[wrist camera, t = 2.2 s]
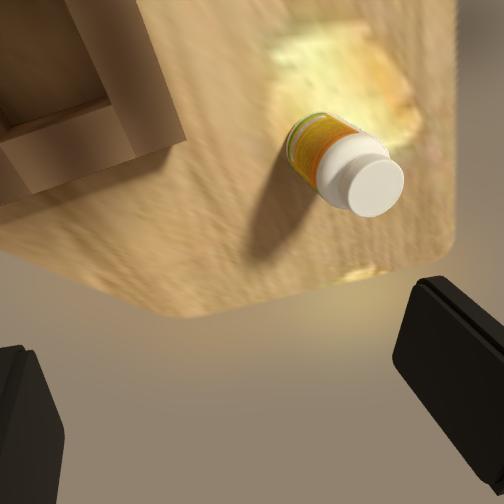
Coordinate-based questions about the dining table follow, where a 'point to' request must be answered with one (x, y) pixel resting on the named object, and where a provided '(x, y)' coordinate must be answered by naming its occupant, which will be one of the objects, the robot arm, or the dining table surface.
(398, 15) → the dining table surface
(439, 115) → the dining table surface
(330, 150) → the supplement bottle
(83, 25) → the socket block
